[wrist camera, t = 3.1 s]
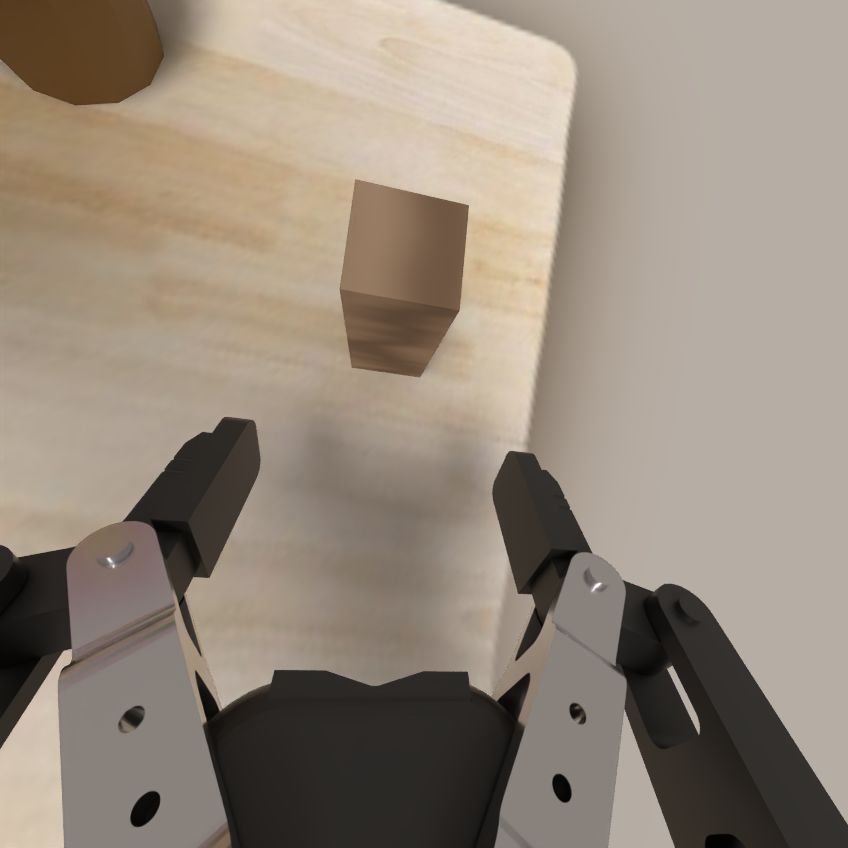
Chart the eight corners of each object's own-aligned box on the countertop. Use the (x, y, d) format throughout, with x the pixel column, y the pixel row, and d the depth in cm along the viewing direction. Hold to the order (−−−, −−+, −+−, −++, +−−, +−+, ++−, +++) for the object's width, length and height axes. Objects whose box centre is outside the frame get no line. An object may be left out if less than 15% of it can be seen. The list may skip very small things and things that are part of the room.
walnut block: (352, 367, 24) (339, 289, 13) (360, 303, 25) (355, 179, 14) (419, 377, 25) (459, 310, 14) (426, 314, 26) (468, 205, 15)
